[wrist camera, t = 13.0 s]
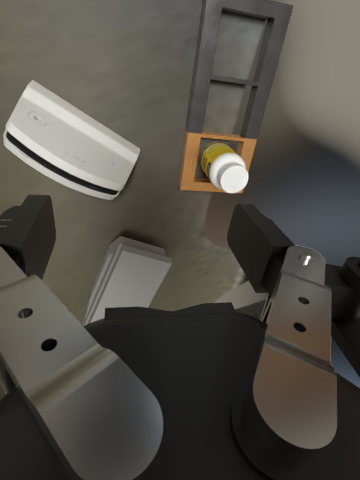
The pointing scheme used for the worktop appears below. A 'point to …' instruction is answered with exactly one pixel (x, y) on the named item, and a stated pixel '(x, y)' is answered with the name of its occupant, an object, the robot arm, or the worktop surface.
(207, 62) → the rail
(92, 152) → the white rounded device
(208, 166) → the supplement bottle
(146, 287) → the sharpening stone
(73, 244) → the worktop surface
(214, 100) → the worktop surface
